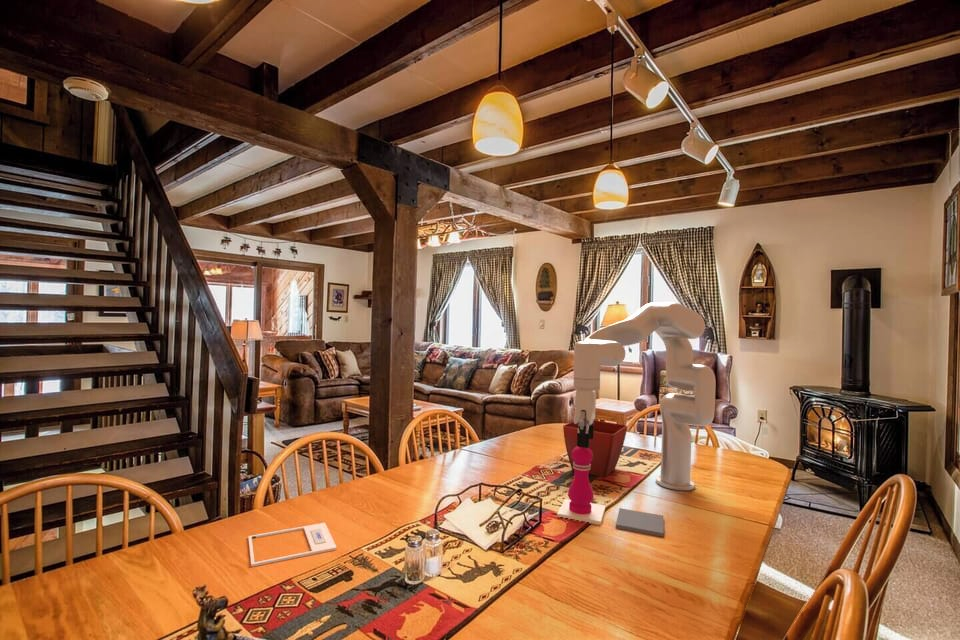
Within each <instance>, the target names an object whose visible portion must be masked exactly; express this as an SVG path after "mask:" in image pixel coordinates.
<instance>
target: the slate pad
mask: <svg viewBox="0 0 960 640" xmlns="http://www.w3.org/2000/svg"><path fill="white" fill-rule="evenodd" d="M615 529H620V530H624V531H629V532H634V533H635V532H636V533H640V534H646V535H651V536H658V537H661V538H664V534H665V533H664V515H661V514H657V513H651V512H645V511H639V510H633V509H627V508H623V507H621V508H620V507H619V509H618V514H617V517H616V522H615Z"/></svg>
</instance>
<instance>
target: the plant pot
mask: <svg viewBox="0 0 960 640" xmlns="http://www.w3.org/2000/svg"><path fill="white" fill-rule="evenodd" d="M578 424H579V422H578V423H577V424H575V423H574V420H572V421H570V422H568V423H566V424H564V425H562V430H563V437H564V444H565V448H566V452H567V453H566V454H567V457H568V461H569V464H570V467H571V469H572V471H574V472H575V470H574V468H573V462H574V460H573V459H572V451H573V449H574V448H575V447H577V432H578ZM592 426H594V438H593V439H589V447H588V448H589V449H590V450H591V451H592V454H593V459H592V461H591V462H590V464H591V466H590V468H591V469H590V470H589V474H588V475H591V476H597V477H599V478H600V477H601V478H606V477H607V476H609V474H611V473H612V472H614V471H615V469H616V467H617V465H618V463H619V459H620V456H621V453H622V450H623V446H624V443H625V440H626V435H627V430H628V425H625V424H620V423H615V422H614V423H613V422H608V421H603V420H595V419H594V421H593V425H592Z"/></svg>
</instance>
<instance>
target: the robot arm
mask: <svg viewBox="0 0 960 640" xmlns="http://www.w3.org/2000/svg"><path fill="white" fill-rule="evenodd" d="M705 329H706V324H705V320H704V318H703V317H702V315H701V314H699V313H698V312H697V311H694V310H693V309H691V308H690V307H687V306H685V305H683V304H680V303H678V302H674V301H670V302H669V301H665V302H664V301H663V302H659V301H657V302H656V301H655V302H649V303H646V304H644V305H642V306H641V307H639V309H637V310H636V311H634V312H633V313H632V314H630V315H629V316H627V317H626V318H625V319H624V320H621V321H617V322H615V323H612V324H609V325H607V326H604V327H601V328H600V329H597V330H596V331H594V332H592V333H591V334H589V335H588V336H586V337H585V338H584V339H583V340H581V341H580V340H579V341H577V342H575V344H574V346H573V385H572V386H573V387H572V388H573V390H576V391H575V398H574V414H573V415H574V416H573V421H574V423H575V424H577V423H578V422H579V424H578V432H577V446H578V447H583V448H588V447H589V439H593V438H594V426H592V425H593V421H594V420H595V419H596V411H597V410H596V406H597V400H596V399H597V397H596V396H597V391H600V390H601V366H605V367H614V366H616V367H617V366H618V365H620V364H622V363H623V361H624V360H625V359H626V350H625V347H626V346H632V345H635V344H639V343H641V342H643V341H644V340H645V339H647V338H648V337H649V336H650V335H651V334H652V333H654V332H655V333H656V334H657V336H658V337H659V338H660V339H661V341H663V344H664V346H665V352H666V354H665V356H666V357H665V381H666V382H665V383H666V385H667V386H668V387H669V388H670V389H674V390H679V391H685V392H689V393H690V392H691V393H693V394H694V395H690V394H683V393H679V392H678V393H677V392H669V393H666V394H665V395H663V396H662V398H660V403H659V410H660V415H661V416H660V417H661V428H662V429H661V451H660V453H661V457H660V458H661V459H660V475H658V476H656V477H655V483H656V484H657V485H659V486H661V487H663V488H666V489H670V490H676V491H692V490H694V489H695V488H696V483H695V482H694V481H692V480H691V469H692V468H691V467H692V466H691V464H692V463H691V462H692V461H691V460H692V442H693V441H692V439H693V438H692V437H693V436H692V432H691V429H690V426H689V425H691V426H698V427H708V426H710V425H712V423H713V421H714V418H715V412H716V411H715V409H716V389H717V387H716V386H717V385H716V384H717V383H716V381H717V380H716V374H715V372H714V370H713V369H712V368H711V367H709V366H708V365H705V364H698V363H694V360H693V359H694V356H693V354H694V353H693V352H694V351H693V347H692V344H691V342H690V340H695V339H699V338H700V337H702V335H703V334H704V333H705Z"/></svg>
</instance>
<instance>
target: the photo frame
mask: <svg viewBox="0 0 960 640" xmlns="http://www.w3.org/2000/svg"><path fill="white" fill-rule="evenodd" d="M302 530H304V533H305V534H304V535H305V536H306V539H307V542H308V545H309V548H310V551H305V552H300V553H295V554H290V555H285V556H280V557H275V558H270V559H266V560H265V559H264V560H261V561H255V555H254V547H253V538H262V537H268V536H274V535H281V534H285V533H289V532H290V533H291V532H296V531H302ZM247 538H248V539H247V540H248V548H249V556H250V557H249V559H250V567H257V566H263V565H268V564H272V563H277V562H282V561H287V560H292V559H297V558H301V557H308V556H313V555H318V554H321V553H327V552H332V551H336V550H337V545H336V542H335V541H334V539H333V536H332V534H331V532H330V530H329V528H328V526H327V524H326V522H320V523H315V524H310V525H303V526H299V527H292V528H287V529H281V530H275V531H270V532H264V533H259V534H254V535H248V536H247Z"/></svg>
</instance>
